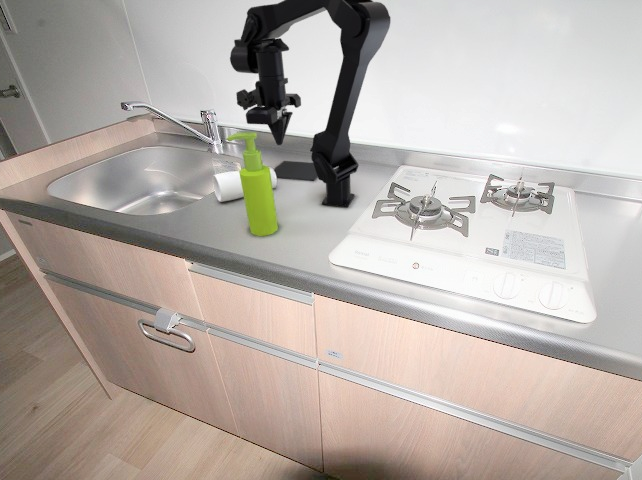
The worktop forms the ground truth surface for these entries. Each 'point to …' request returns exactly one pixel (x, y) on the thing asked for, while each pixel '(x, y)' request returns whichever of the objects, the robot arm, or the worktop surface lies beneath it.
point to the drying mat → (296, 171)
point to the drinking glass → (233, 185)
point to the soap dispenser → (257, 188)
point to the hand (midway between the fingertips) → (279, 144)
